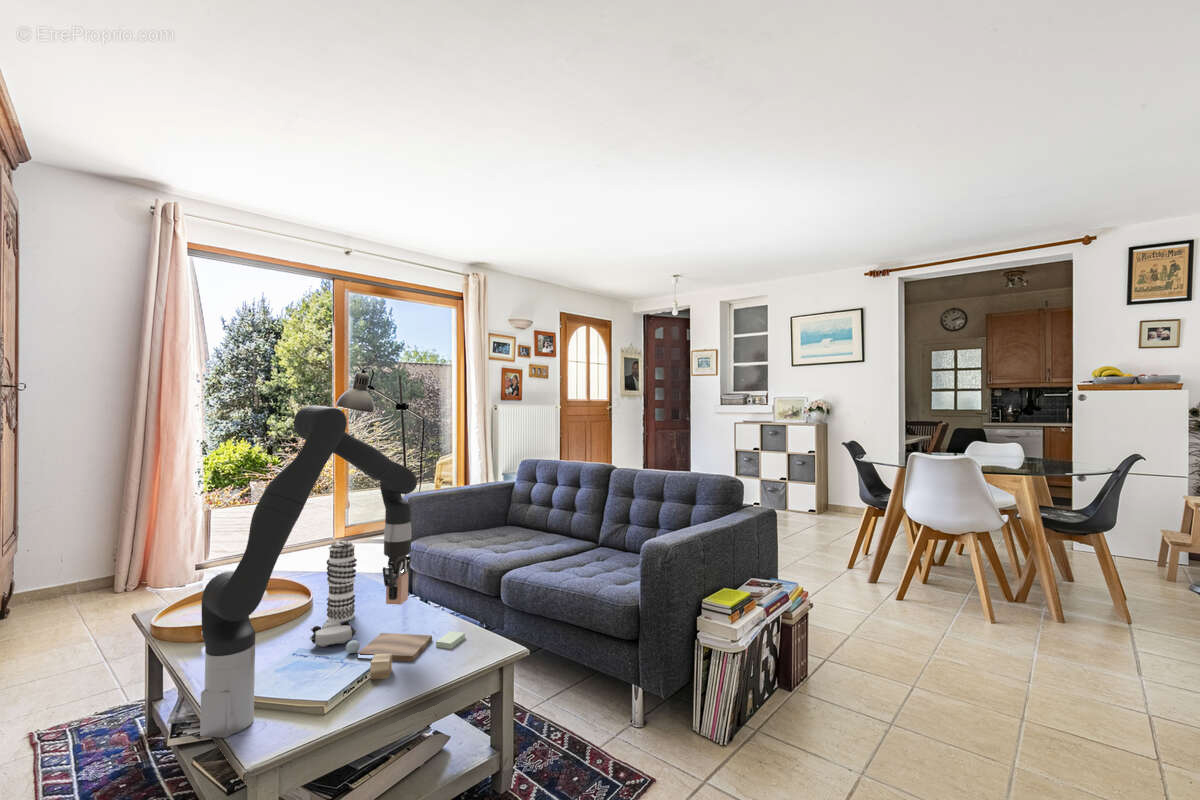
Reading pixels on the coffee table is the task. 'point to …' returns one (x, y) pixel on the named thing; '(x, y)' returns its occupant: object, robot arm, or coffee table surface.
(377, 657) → the beech cube
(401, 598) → the terracotta block
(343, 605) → the grey banded tower model
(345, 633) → the robot toy
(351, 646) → the grey ball
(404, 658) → the walnut board
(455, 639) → the sage flat block
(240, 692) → the robot arm
